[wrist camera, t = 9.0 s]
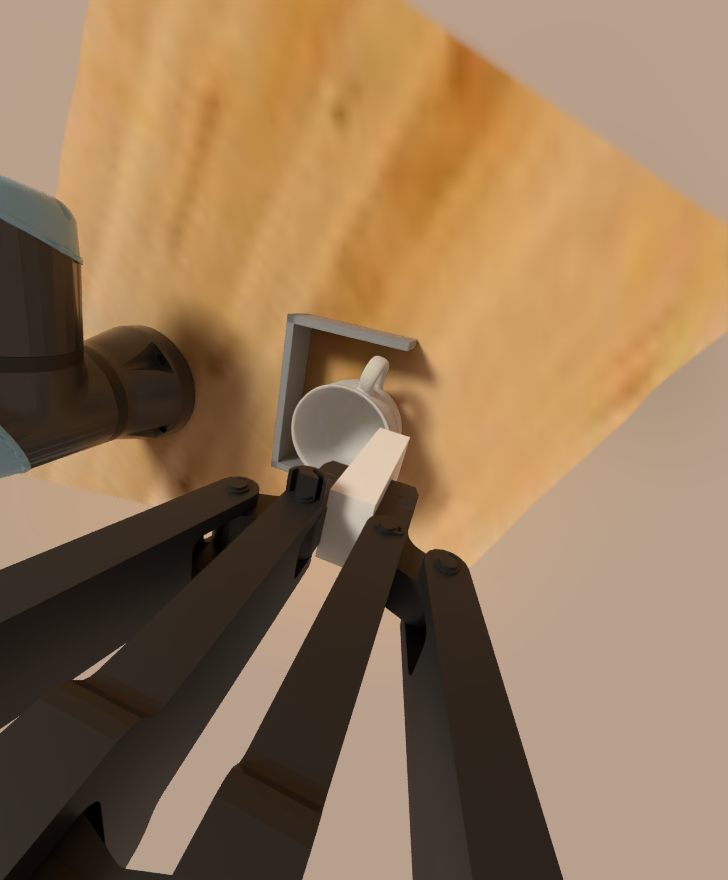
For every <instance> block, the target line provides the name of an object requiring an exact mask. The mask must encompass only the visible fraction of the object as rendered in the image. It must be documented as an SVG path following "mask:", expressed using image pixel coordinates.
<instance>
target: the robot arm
mask: <svg viewBox="0 0 728 880" xmlns="http://www.w3.org/2000/svg"><path fill="white" fill-rule="evenodd" d="M81 265H83V260H82V258H81V257H80V252H79V243H78V233H77V224H76V221H75V218H74V216H73V214H72V213H71V211H70V210H69V209H68V208H67V207H66V206H65V205H64V204H63V203H62V202H61V201H59V200H58V199H56V198H54V197H52V196H50V195H48V194H46V193H44V192H41V191H39V190H37V189H34V188H32V187H29V186H27V185H24V184H22V183H20V182H17V181H15V180H12V179H10V178H7V177H5V176H2V175H0V478H3V477H6V476H10V475H14V474H17V473H25V472H27V471H29V470H30V469H32V468H35V467H37V466H40V465H43V464H46V463H49V462H52V461H54V460H57V459H60V458H63V457H66V456H69V455H72V454H74V453H77V452H80V451H83V450H86V449H89V448H92V447H94V446H97V445H100V444H103V443H105V442H108V441H112V440H115V439H153V438H159V437H163V436H166V435H168V434H171V433H173V432H176V431H178V430H179V429H181V428H182V427H183V426H184V425H185V424H186V423H187V421H188V420H189V418H190V416H191V413H192V410H193V406H194V384H193V380H192V376H191V373H190V370H189V367H188V365H187V363H186V361H185V359H184V358H183V356H182V354H181V353H180V351H179V350H178V349H177V347H176V346H175V345H174V344H173V343H172V342H171V341H170V340H169V339H168V338H167V337H165V336H164V335H163V334H161V333H160V332H158V331H156V330H154V329H152V328H149V327H145V326H137V325H136V326H120V327H115V328H112V329H109V330H107V331H105V332H103V333H100V334H98V335H96V336H94V337H92V338H89V339H87V340H85V341H83V319H82V285H81ZM409 439H410V437H408V436H404V435H401V434H398V433H395V432H392V431H389V430H386V429H383V428H379V430H378V431H377V432H376V433H375V434H374V436H373V437H372V438H371V439H370V441H369V442H368V443H367V444H366V446H365V447H364V448H363V449H362V451H361V452H360V453H359V454H358V455H357V457H356V458H355V459H354V460H353V462H352V463H351V464H350V465H349V466H348V465H345V464H342V463H339V462H337V461H334V460H333V461H330V462H327V463H324V464H323V465H322V466H321V467H320V468H319V469H318V468H316V467H312V466H304V465H300V466H294V467H292V468H290V469H289V473H288V479H287V485H286V491H285V492H284V493H283V494H282V495H281V496H271V495H264V494H259V486H258V484H257V483H256V482H255V481H253V480H251V479H248V478H245V477H229V478H225V479H222V480H220V481H217V482H215V483H212V484H210V485H207V486H205V487H202V488H200V489H198V490H195V491H193V492H190V493H188V494H185V495H183V496H180V497H178V498H175V499H173V500H171V501H168V502H166V503H163V504H161V505H158V506H156V507H153V508H151V509H148V510H146V511H144V512H141V513H139V514H136V515H134V516H131V517H129V518H126V519H124V520H122V521H119V522H117V523H114V524H112V525H109V526H107V527H104V528H102V529H100V530H97V531H94V532H92V533H90V534H87V535H85V536H82V537H80V538H77V539H75V540H73V541H70V542H68V543H65V544H63V545H60V546H58V547H55V548H53V549H50V550H48V551H46V552H43V553H41V554H38V555H36V556H33V557H31V558H28V559H26V560H23V561H21V562H19V563H16V564H13V565H11V566H9V567H6V568H4V569H1V570H0V729H1V728H2V727H4V726H5V725H7V724H8V723H10V722H11V721H13V720H14V719H16V718H17V717H18V716H19V717H18V718H17V719H16V720H15V721H14V722H12V723H11V724H10V725H9V726H8V727H7V728H6V729H5V730H4V731H2V732H1V733H0V880H302V879H303V875H304V872H305V869H306V865H307V862H308V859H309V856H310V852H311V849H312V846H313V842H314V839H315V836H316V832H317V829H318V826H319V822H320V819H321V815H322V811H323V807H324V804H325V800H326V797H327V794H328V790H329V787H330V784H331V781H332V777H333V774H334V771H335V768H336V764H337V761H338V758H339V755H340V751H341V748H342V745H343V741H344V738H345V734H346V731H347V729H348V725H349V722H350V719H351V715H352V712H353V709H354V706H355V702H356V699H357V696H358V693H359V690H360V686H361V683H362V680H363V676H364V673H365V670H366V666H367V663H368V660H369V657H370V654H371V650H372V647H373V644H374V641H375V637H376V634H377V631H378V628H379V624H380V621H381V618H382V615H383V611H384V608H385V607H386V608H387V609H388V610H390V611H391V612H392V613H394V614H395V615H396V616H398V617H399V618H400V619H401V623H400V632H401V652H402V671H403V693H404V712H405V732H406V753H407V773H408V793H409V813H410V833H411V853H412V874H413V880H563V877H562V874H561V871H560V867H559V864H558V861H557V858H556V854H555V851H554V848H553V844H552V841H551V838H550V835H549V831H548V828H547V824H546V821H545V818H544V815H543V811H542V808H541V805H540V802H539V798H538V795H537V792H536V788H535V785H534V782H533V779H532V775H531V772H530V769H529V766H528V762H527V759H526V756H525V752H524V749H523V746H522V742H521V739H520V736H519V732H518V729H517V726H516V723H515V719H514V716H513V713H512V710H511V706H510V703H509V700H508V696H507V693H506V690H505V687H504V683H503V680H502V677H501V673H500V670H499V667H498V663H497V660H496V657H495V654H494V650H493V647H492V644H491V640H490V637H489V634H488V630H487V627H486V624H485V621H484V617H483V614H482V611H481V607H480V604H479V601H478V598H477V595H476V591H475V588H474V584H473V581H472V578H471V575H470V571H469V569H468V567H467V565H466V563H465V562H464V561H463V560H462V559H460V558H459V557H458V556H456V555H455V554H453V553H451V552H448V551H445V550H439V549H434V550H430V551H428V552H427V553H424V552H423V551H421V550H420V549H418V548H417V547H416V546H415V545H414V544H413V543H412V542H411V540H410V539H409V536H408V529H409V525H410V522H411V519H412V516H413V512H414V509H415V506H416V502H417V499H418V496H419V495H418V493H417V490H416V488H415V487H412V486H409V485H406V484H403V483H400V482H397V479H398V476H399V473H400V469H401V466H402V463H403V459H404V456H405V453H406V449H407V446H408V443H409ZM211 531H212V536H210V537H208V538H206V539H204V537H203V536H204V535H205V534H207V533H209V532H211ZM317 546H318V547H317ZM316 547H317V551H316V557H318V558H321V559H323V560H326V561H328V562H331V563H333V564H336V565H338V566H341V567H342V569H341V571H340V573H339V575H338V577H337V579H336V581H335V583H334V585H333V587H332V589H331V591H330V592H329V594H328V596H327V598H326V600H325V602H324V604H323V606H322V608H321V610H320V612H319V613H318V616H317V617H316V619H315V621H314V623H313V625H312V627H311V629H310V631H309V633H308V635H307V637H306V639H305V640H304V643H303V645H302V646H301V648H300V650H299V652H298V654H297V656H296V658H295V660H294V662H293V663H292V666H291V667H290V669H289V671H288V673H287V675H286V677H285V679H284V681H283V683H282V685H281V687H280V688H279V691H278V692H277V694H276V696H275V698H274V700H273V702H272V704H271V706H270V708H269V710H268V712H267V713H266V715H265V717H264V719H263V721H262V723H261V725H260V727H259V729H258V731H257V733H256V735H255V737H254V739H253V740H252V742H251V744H250V746H249V748H248V750H247V752H246V754H245V755H244V757H243V758H242V760H241V761H240V763H238V764H237V765H235V766H234V767H233V768H232V769H231V770H230V772H229V773H228V775H227V776H226V778H225V779H224V781H223V783H222V784H221V787H220V788H219V790H218V791H217V793H216V795H215V797H214V798H213V801H212V802H211V804H210V806H209V808H208V810H207V811H206V813H205V815H204V817H203V819H202V821H201V823H200V825H199V827H198V828H197V830H196V832H195V834H194V836H193V837H192V839H191V841H190V843H189V845H188V847H187V849H186V850H185V853H184V854H183V856H182V858H181V860H180V862H179V863H178V865H177V867H176V869H175V871H174V873H173V875H166V874H160V873H152V872H145V871H137V870H130V869H125V868H126V866H127V864H128V863H129V861H130V859H131V857H132V856H133V854H134V852H135V850H136V849H137V847H138V845H139V843H140V841H141V839H142V837H143V835H144V833H145V831H146V828H147V826H148V823H149V821H150V818H151V816H152V813H153V811H154V809H155V807H156V805H157V803H158V801H159V799H160V798H161V796H162V794H163V792H164V791H165V789H166V788H167V786H168V785H169V783H170V782H171V780H172V778H173V777H174V775H175V774H176V772H177V771H178V769H179V767H180V766H181V764H182V763H183V761H184V760H185V758H186V757H187V755H188V754H189V752H190V750H191V749H192V747H193V746H194V744H195V743H196V741H197V739H198V738H199V736H200V735H201V733H202V732H203V730H204V729H205V727H206V726H207V724H208V722H209V721H210V719H211V718H212V716H213V715H214V713H215V712H216V710H217V708H218V707H219V705H220V704H221V702H222V701H223V699H224V698H225V696H226V695H227V693H228V691H229V690H230V688H231V686H232V685H233V684H234V682H235V681H236V679H237V677H238V676H239V674H240V673H241V671H242V669H243V668H244V667H245V665H246V663H247V662H248V660H249V659H250V657H251V656H252V654H253V653H254V651H255V649H256V648H257V646H258V645H259V643H260V642H261V640H262V638H263V637H264V635H265V634H266V632H267V631H268V629H269V628H270V626H271V625H272V623H273V621H274V620H275V618H276V617H277V615H278V614H279V612H280V610H281V609H282V607H283V606H284V604H285V603H286V601H287V600H288V598H289V597H290V595H291V593H292V592H293V590H294V589H295V587H296V586H297V584H298V583H299V581H300V580H301V578H302V576H303V575H304V573H305V572H306V570H307V569H308V567H309V565H310V561H311V557H312V553H313V552H314V550H315V549H316ZM125 643H126V644H125ZM124 644H125V645H124ZM122 645H124V646H123V647H122V648H121V649H120V650H119V651H118V652H117V653H116V654H115V655H114V656H113V657H111V659H109V660H108V661H107V662H106V663H105V664H104V665H103V666H102V667H101V668H100V669H99V670H98V671H97V672H95V673H94V674H93V675H92V676H91V677H89V678H87V679H84V680H73V679H74V678H75V677H77V676H78V675H80V674H81V673H83V672H84V671H86V670H87V669H89V668H90V667H91V666H93V665H95V664H96V663H97V662H99V661H100V660H102V659H103V658H105V657H106V656H108V655H109V654H111V653H112V652H113V651H115V650H116V649H118V648H119V647H120V646H122Z"/></svg>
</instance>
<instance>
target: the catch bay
mask: <svg viewBox="0 0 728 880" xmlns="http://www.w3.org/2000/svg"><path fill="white" fill-rule="evenodd" d="M312 328H314V329H318V330H322V331H326V332H330V333H334V334H338V335H343V336H347V337H351V338H355V339H359V340H363V341H367V342H371V343H375V344H379V345H383V346H387V347H392V348H396V349H400V350H404V351H409V350H411V349H413V348H415V347H416V343H417V340H416V339H412V338H408V337H404V336H399V335H395V334H391V333H387V332H383V331H378V330H374V329H370V328H366V327H361V326H357V325H353V324H349V323H345V322H340V321H336V320H332V319H328V318H323V317H319V316H315V315H311V314H288V316H287V325H286V335H285V344H284V353H283V362H282V371H281V381H280V390H279V399H278V408H277V417H276V426H275V436H274V445H273V454H272V463H271V466H272V467H275V468H278V469H280V470H283V471H286V472H289V469H290V468H292V467H294V466H300V465H304V463H303V462H302V461H301V459H300V457H299V456H298V454H297V452H296V450H295V447H294V444H293V439H292V431H291V424H292V418H293V414H294V411H295V409H296V407H297V405H298V403H299V402H300V400H301V399H302V397H303V390H304V383H305V375H306V368H307V360H308V353H309V346H310V338H311V331H312ZM304 466H305V465H304Z"/></svg>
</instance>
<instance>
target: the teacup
mask: <svg viewBox="0 0 728 880" xmlns="http://www.w3.org/2000/svg"><path fill="white" fill-rule="evenodd" d="M388 369H389V362H388V361H387V360H386V359H385V358H383V357H381V356H375V357H373V358H372V359H371V360H370V361H369V363H368V364H367V366H366V367H365V369H364V371H363V373H362V375H361V378H360V380H359V379H348V380H342V381H338V382H335V383H331V384H327V385H322V386H319V387H317V388H315V389H313V390H311V391H310V392H308V393H307V394H306V395H305V396H304V397H303V398H302V399H301V400H300V402H299V403H298V405H297V407H296V409H295V411H294V414H293V418H292V424H291V431H292V439H293V444H294V447H295V449H296V452H297V454H298V456H299V457H300V459H301V461H302V462H303V463H304V465H305V466H312V467H316V468H318V469H319V468H320V467H321V466H322V465H323V464H324V463H327V462H330V461H333V460H334V461H337V462H339V463H342V464H345V465H348V466H349V465H350V464H351V463H352V462H353V460H354V459H355V458H356V457H357V455H358V454H359V453H360V452H361V451H362V449H363V448H364V447H365V446H366V444H367V443H368V442H369V441H370V439H371V438H372V437H373V436H374V434H375V433H376V432H377V431H378V430H379V428H383V429H386V430H389V431H392V432H395V433H398V434H401V433H402V422H401V416H400V413H399V410H398V408H397V406H396V404H395V402H394V400H393V399H392V398H391V397H390V395H389V394H388V393H387V392H386V391H384V390H383V384H384V381H385V378H386V375H387V372H388Z"/></svg>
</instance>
